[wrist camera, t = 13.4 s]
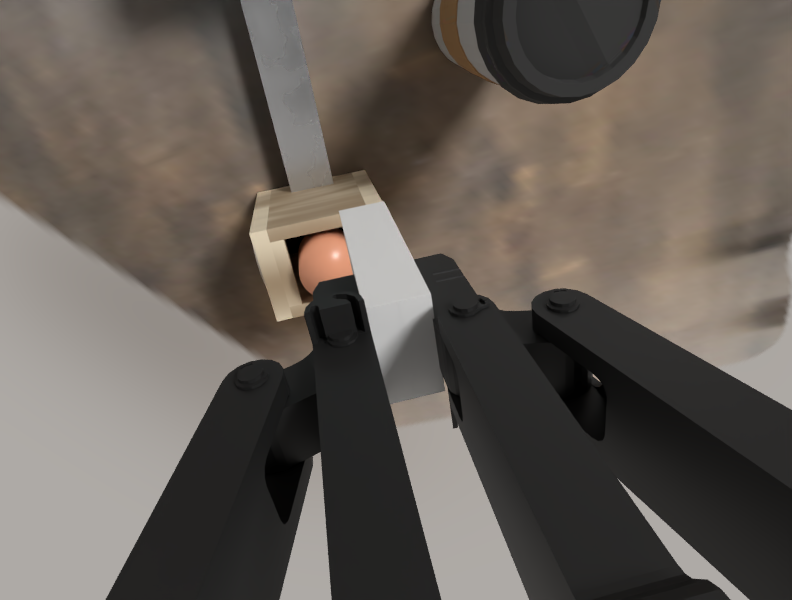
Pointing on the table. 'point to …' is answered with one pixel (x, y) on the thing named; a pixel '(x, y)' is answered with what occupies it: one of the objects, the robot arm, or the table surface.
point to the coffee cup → (545, 43)
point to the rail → (288, 91)
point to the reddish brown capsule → (323, 258)
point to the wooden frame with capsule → (299, 232)
